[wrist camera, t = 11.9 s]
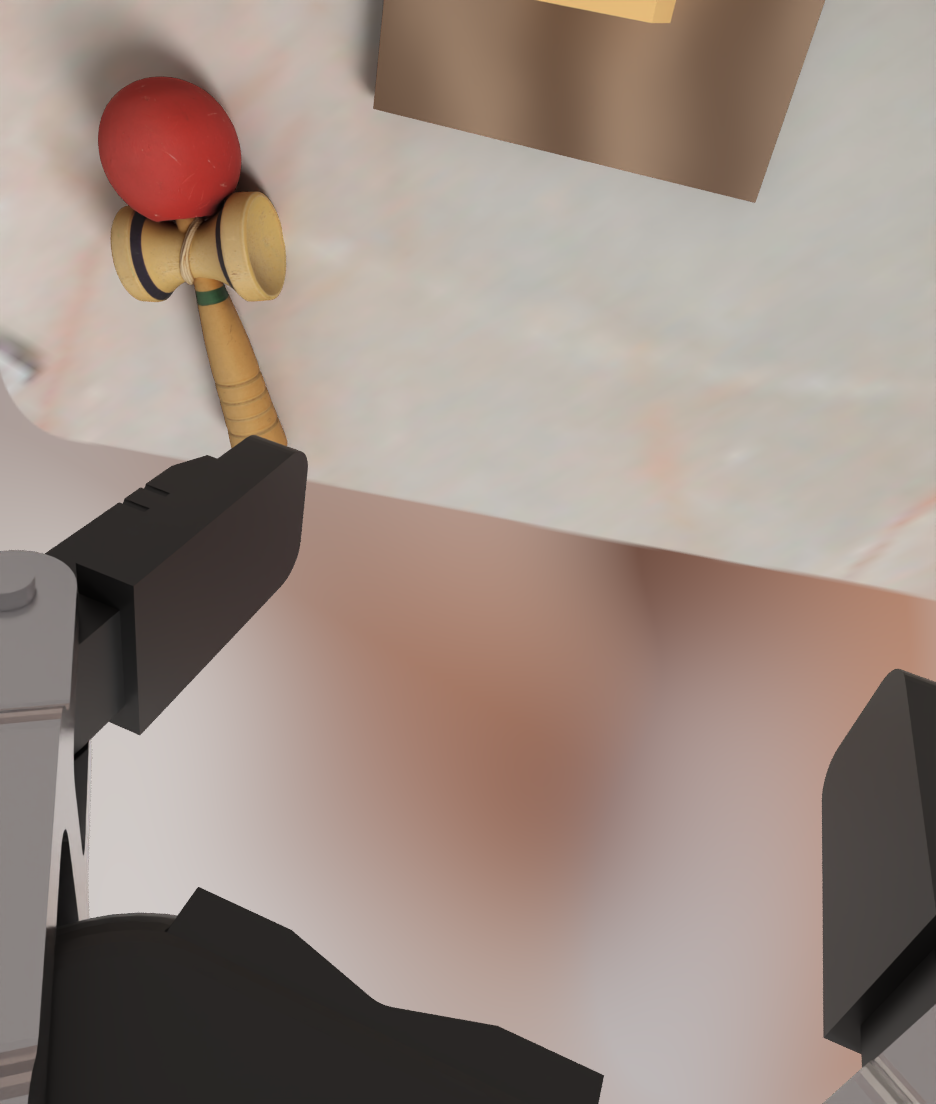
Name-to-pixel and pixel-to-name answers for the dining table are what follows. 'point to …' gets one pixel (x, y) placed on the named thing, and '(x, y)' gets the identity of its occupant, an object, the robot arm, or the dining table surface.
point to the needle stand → (605, 81)
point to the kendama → (194, 229)
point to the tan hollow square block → (626, 8)
